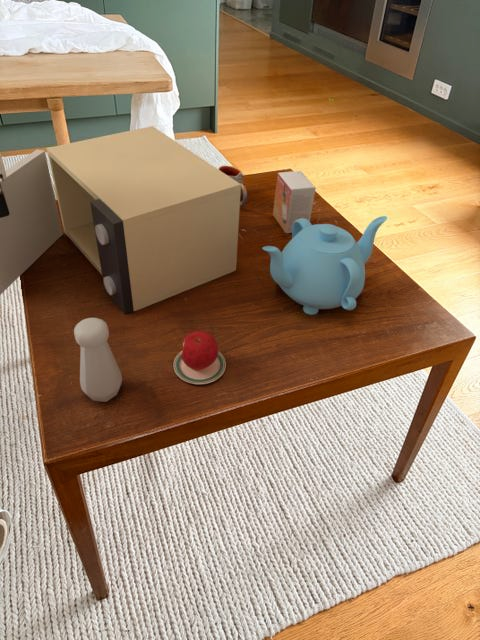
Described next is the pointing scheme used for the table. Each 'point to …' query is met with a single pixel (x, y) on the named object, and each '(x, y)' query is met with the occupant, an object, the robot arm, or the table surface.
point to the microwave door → (27, 217)
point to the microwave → (146, 214)
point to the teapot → (323, 265)
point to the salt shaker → (97, 361)
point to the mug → (237, 176)
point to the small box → (292, 199)
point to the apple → (199, 359)
